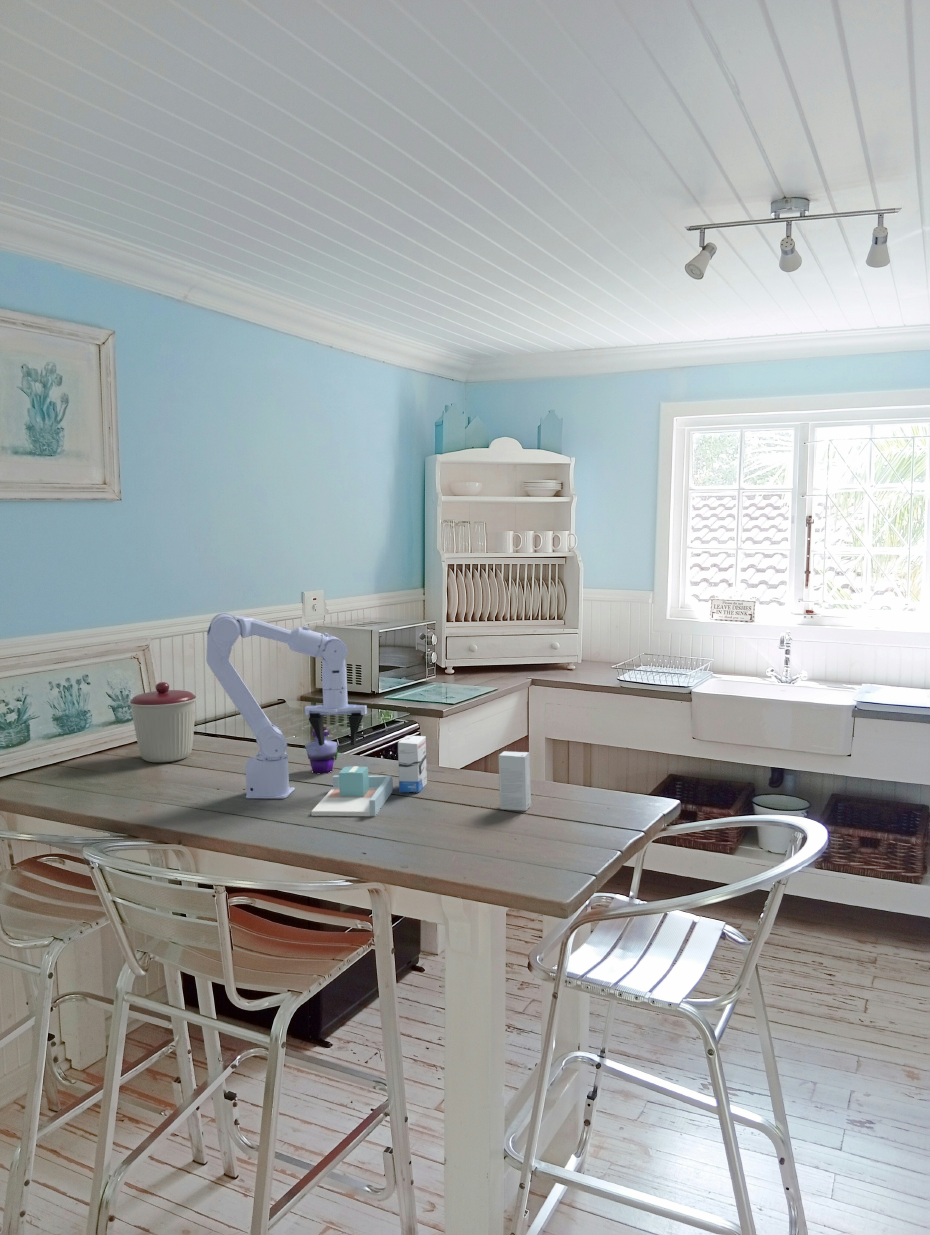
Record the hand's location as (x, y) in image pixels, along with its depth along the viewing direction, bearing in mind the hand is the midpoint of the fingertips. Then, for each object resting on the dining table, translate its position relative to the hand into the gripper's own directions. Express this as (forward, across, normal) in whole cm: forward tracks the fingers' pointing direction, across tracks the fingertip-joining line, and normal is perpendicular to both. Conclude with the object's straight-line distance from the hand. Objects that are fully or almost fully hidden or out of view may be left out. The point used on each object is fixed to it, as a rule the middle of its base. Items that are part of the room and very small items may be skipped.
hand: (337, 744), depth 229 cm
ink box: (+11, +18, 0) cm, 21 cm away
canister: (+10, -55, +28) cm, 63 cm away
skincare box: (+11, +43, -15) cm, 47 cm away
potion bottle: (+11, -8, +15) cm, 20 cm away
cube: (+9, +6, -8) cm, 14 cm away
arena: (+10, +6, -11) cm, 16 cm away
